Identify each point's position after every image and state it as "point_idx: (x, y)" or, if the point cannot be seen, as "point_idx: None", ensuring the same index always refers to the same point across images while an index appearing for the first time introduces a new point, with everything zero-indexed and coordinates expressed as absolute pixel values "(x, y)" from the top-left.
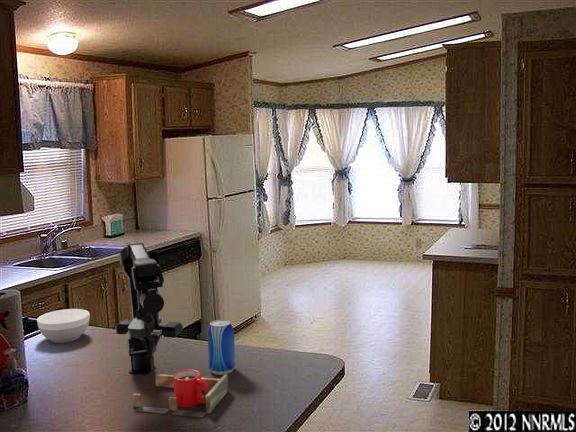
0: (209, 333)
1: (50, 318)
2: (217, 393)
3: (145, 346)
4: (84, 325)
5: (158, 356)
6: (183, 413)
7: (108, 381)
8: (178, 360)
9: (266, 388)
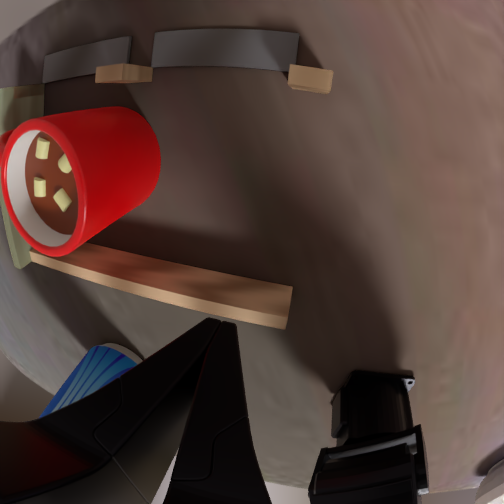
0: None
1: None
2: None
3: (227, 415)
4: (488, 489)
5: None
6: (94, 51)
7: (477, 323)
8: (274, 432)
9: (3, 254)
